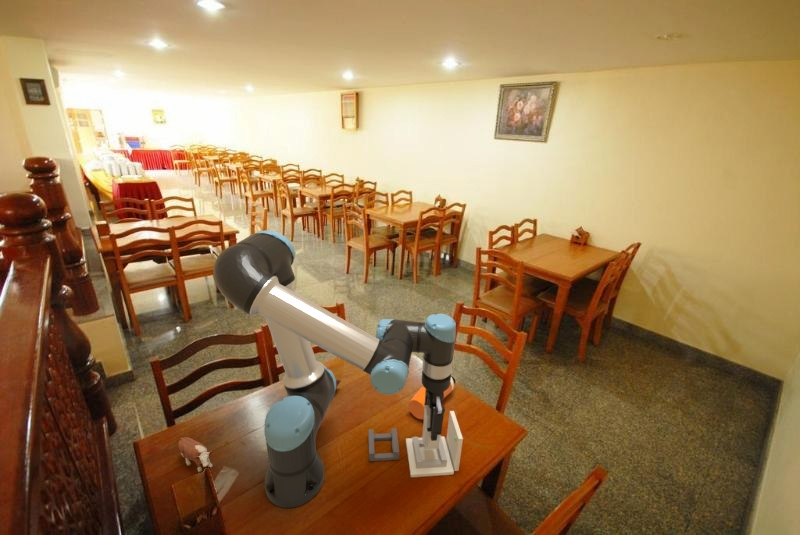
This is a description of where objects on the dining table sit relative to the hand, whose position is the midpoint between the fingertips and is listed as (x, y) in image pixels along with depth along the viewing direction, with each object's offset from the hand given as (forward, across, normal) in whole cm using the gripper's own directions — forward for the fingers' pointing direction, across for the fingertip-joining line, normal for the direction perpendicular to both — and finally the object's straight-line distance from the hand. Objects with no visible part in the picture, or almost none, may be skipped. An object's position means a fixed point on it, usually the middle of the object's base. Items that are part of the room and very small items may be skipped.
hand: (430, 438), depth 99 cm
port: (+7, 0, 0) cm, 7 cm away
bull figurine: (+7, +2, +64) cm, 64 cm away
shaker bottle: (+3, +14, +2) cm, 14 cm away
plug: (+2, 0, 0) cm, 2 cm away
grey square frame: (+7, +4, +13) cm, 15 cm away
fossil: (+7, +27, +33) cm, 43 cm away
